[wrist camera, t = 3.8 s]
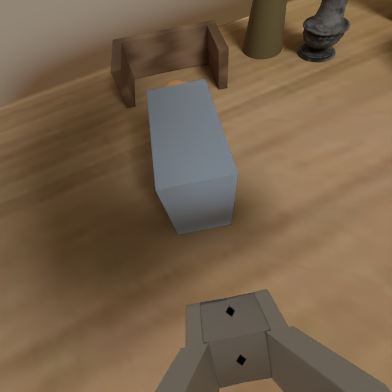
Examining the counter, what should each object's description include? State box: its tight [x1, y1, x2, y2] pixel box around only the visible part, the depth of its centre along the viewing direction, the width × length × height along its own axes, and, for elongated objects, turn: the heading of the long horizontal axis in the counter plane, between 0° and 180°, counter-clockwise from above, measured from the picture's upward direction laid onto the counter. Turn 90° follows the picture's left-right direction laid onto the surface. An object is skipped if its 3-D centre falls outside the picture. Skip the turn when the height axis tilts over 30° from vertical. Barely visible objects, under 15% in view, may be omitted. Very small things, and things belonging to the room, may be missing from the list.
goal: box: [111, 20, 229, 108], centre depth 29 cm, size 14×8×5 cm, turn 100°
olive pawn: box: [243, 0, 287, 59], centre depth 29 cm, size 6×6×11 cm
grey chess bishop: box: [297, 0, 350, 62], centre depth 26 cm, size 6×6×12 cm
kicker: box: [147, 79, 238, 235], centre depth 18 cm, size 5×10×8 cm, turn 10°
